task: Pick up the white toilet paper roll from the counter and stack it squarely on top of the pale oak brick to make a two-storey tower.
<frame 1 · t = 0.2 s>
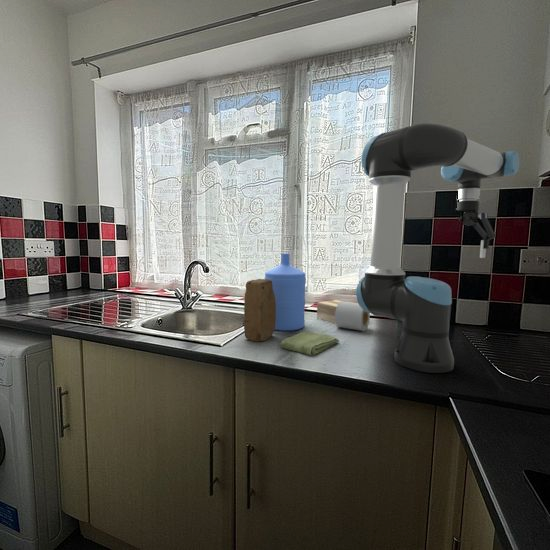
hand: (463, 256, 129), 28 cm above the table, tool pointing down, fingers open, 13 cm apart
block: (260, 338, 113), on the table
oak brick: (338, 319, 142), on the table
toilet paper: (351, 329, 127), on the table
water jug: (284, 326, 129), on the table
washcloth: (309, 347, 107), on the table
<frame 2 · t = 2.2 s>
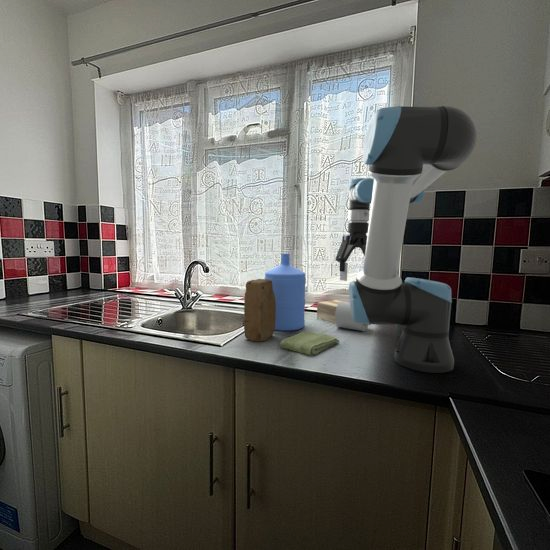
hand: (356, 279, 125), 19 cm above the table, tool pointing down, fingers open, 13 cm apart
nothing on the table moved.
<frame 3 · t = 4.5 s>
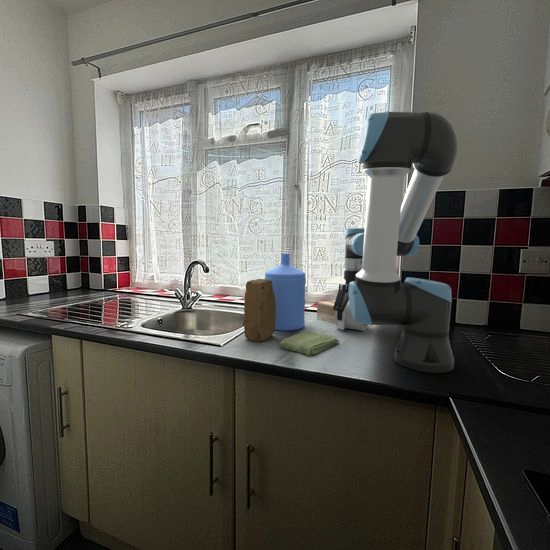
hand: (352, 326, 127), 1 cm above the table, tool pointing down, fingers closed on toilet paper, 12 cm apart
toilet paper: (352, 329, 127), on the table, touching gripper
everything else where it was.
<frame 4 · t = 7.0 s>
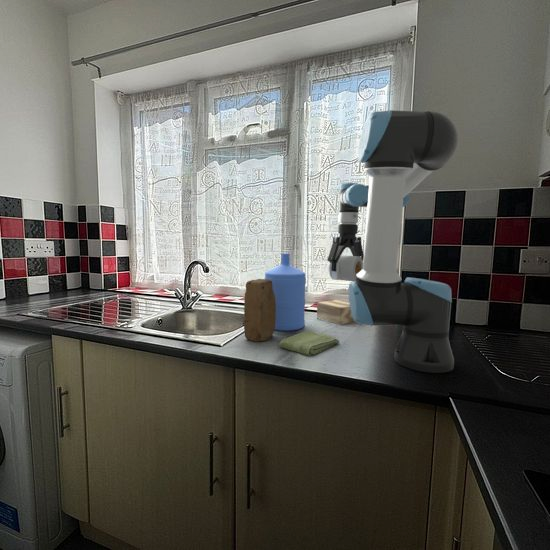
hand: (345, 278, 134), 18 cm above the table, tool pointing down, fingers closed on toilet paper, 11 cm apart
toilet paper: (345, 281, 134), point 17 cm above the table, touching gripper
everything else where it was.
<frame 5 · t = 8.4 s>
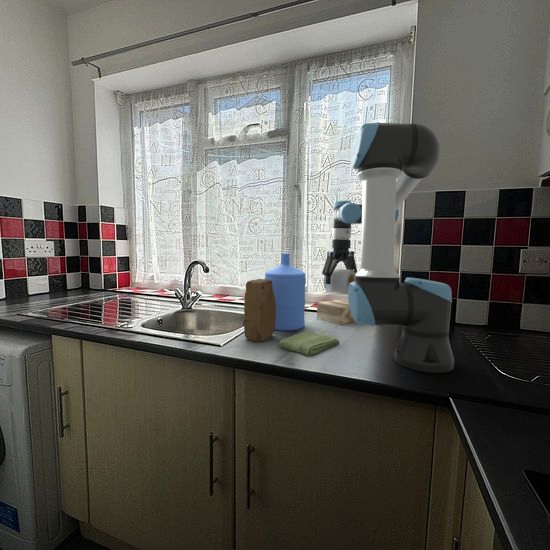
hand: (339, 290, 141), 12 cm above the table, tool pointing down, fingers closed on toilet paper, 11 cm apart
toilet paper: (339, 293, 141), point 11 cm above the table, touching gripper
everything else where it was.
when the fingers open (9 cm above the table, at t = 9.5 s): toilet paper drops 2 cm, resting on oak brick.
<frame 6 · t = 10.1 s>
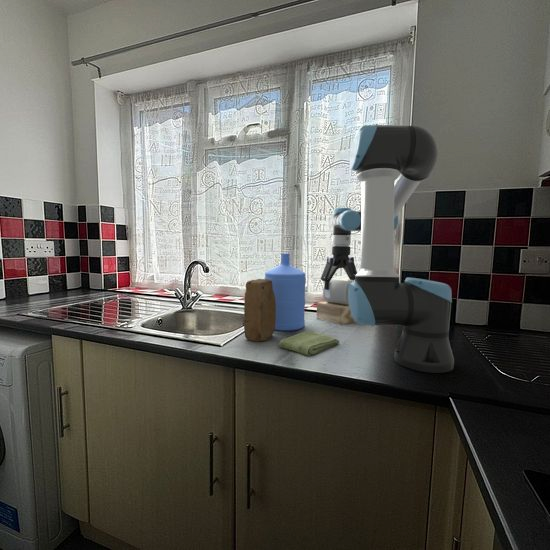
hand: (339, 296, 141), 10 cm above the table, tool pointing down, fingers open, 13 cm apart
oak brick: (338, 319, 142), on the table, touching toilet paper
toilet paper: (339, 304, 141), point 6 cm above the table, touching oak brick
everything else where it was.
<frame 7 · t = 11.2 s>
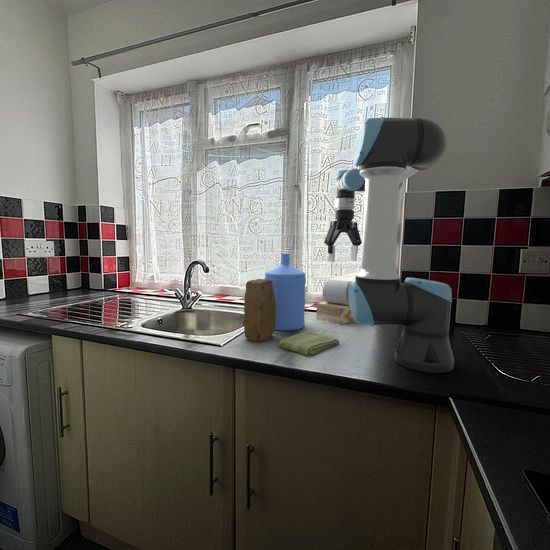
hand: (342, 261, 139), 25 cm above the table, tool pointing down, fingers open, 13 cm apart
nothing on the table moved.
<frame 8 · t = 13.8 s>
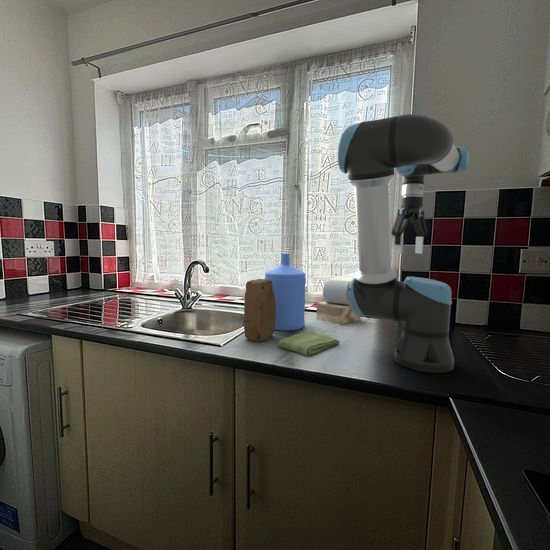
hand: (408, 253, 127), 29 cm above the table, tool pointing down, fingers open, 13 cm apart
nothing on the table moved.
at the end: toilet paper 0.1 cm from the oak brick (horizontally); toilet paper point 6.4 cm above the table; toilet paper touching oak brick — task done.
